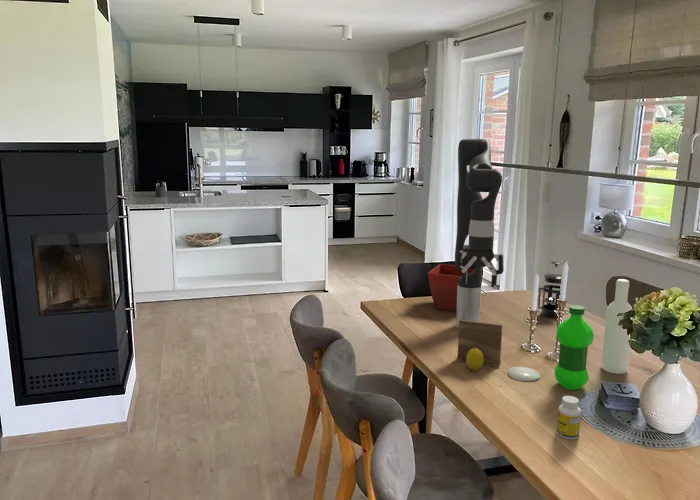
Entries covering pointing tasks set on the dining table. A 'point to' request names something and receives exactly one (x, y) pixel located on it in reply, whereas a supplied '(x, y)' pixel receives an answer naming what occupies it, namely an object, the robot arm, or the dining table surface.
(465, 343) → the walnut screen
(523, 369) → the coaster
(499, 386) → the dining table surface
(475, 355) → the lemon
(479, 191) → the robot arm
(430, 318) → the dining table surface
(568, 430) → the supplement bottle
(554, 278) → the french press
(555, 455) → the dining table surface
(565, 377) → the plastic bottle
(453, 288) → the plant pot
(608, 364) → the bottle
